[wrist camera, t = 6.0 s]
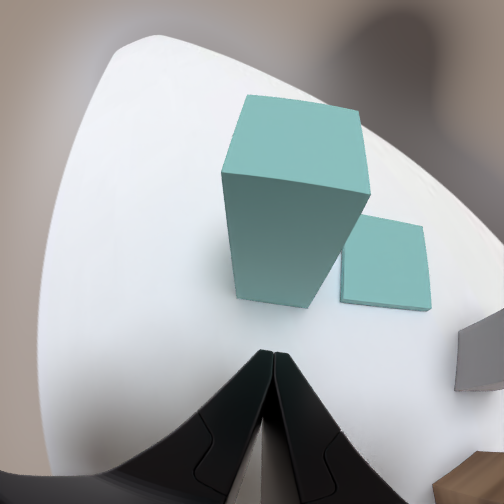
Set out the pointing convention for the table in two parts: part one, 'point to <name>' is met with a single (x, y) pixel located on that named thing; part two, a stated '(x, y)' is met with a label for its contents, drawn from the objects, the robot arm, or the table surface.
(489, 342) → the grey pillar
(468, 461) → the walnut pillar
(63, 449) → the table surface
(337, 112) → the teal pillar
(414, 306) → the teal colour card
